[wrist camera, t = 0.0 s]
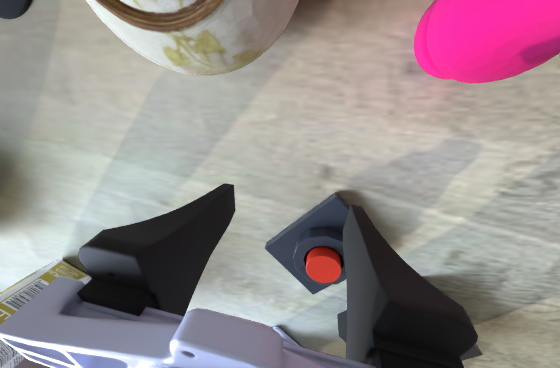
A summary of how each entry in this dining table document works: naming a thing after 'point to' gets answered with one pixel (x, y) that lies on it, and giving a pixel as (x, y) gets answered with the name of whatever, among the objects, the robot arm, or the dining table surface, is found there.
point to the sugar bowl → (197, 30)
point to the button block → (312, 240)
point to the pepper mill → (486, 38)
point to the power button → (323, 265)
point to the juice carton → (7, 302)
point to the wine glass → (13, 8)
